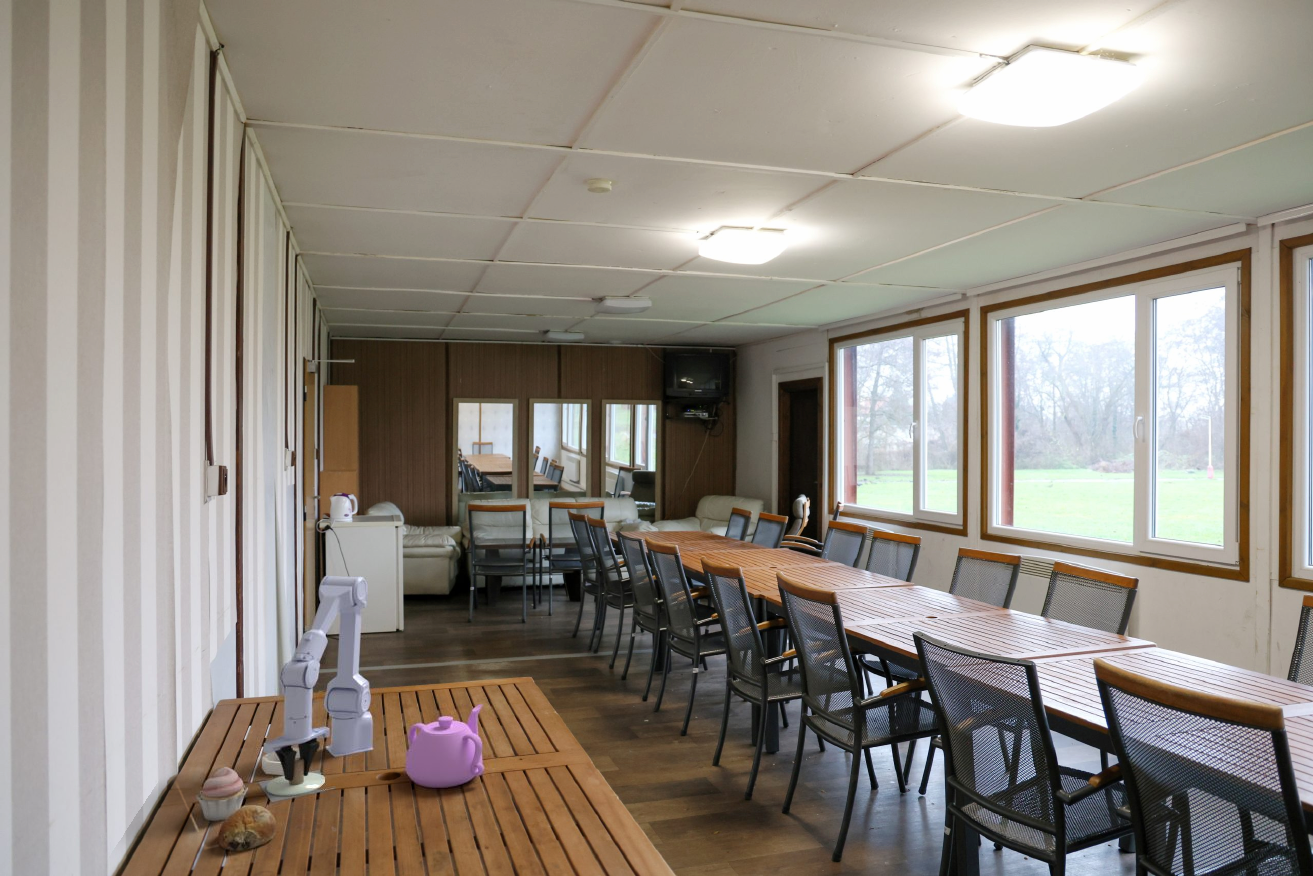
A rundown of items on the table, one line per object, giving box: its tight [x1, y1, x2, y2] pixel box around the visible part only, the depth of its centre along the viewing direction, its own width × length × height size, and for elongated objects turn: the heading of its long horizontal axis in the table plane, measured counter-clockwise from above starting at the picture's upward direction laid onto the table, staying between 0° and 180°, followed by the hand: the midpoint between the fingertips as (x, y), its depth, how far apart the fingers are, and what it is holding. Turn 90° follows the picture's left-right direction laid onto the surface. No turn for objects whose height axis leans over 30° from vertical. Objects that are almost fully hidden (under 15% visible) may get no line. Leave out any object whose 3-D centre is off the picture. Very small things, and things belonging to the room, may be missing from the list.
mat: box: [257, 769, 336, 803], centre depth 187 cm, size 13×13×1 cm
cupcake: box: [196, 766, 249, 822], centre depth 172 cm, size 9×9×10 cm
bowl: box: [261, 747, 300, 776], centre depth 198 cm, size 10×10×3 cm
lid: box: [267, 758, 326, 796], centre depth 188 cm, size 12×12×6 cm
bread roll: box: [218, 804, 277, 852], centre depth 162 cm, size 10×10×8 cm
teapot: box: [405, 704, 485, 789], centre depth 197 cm, size 22×22×14 cm
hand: (296, 777), depth 188 cm, fingers closed on lid, 3 cm apart
